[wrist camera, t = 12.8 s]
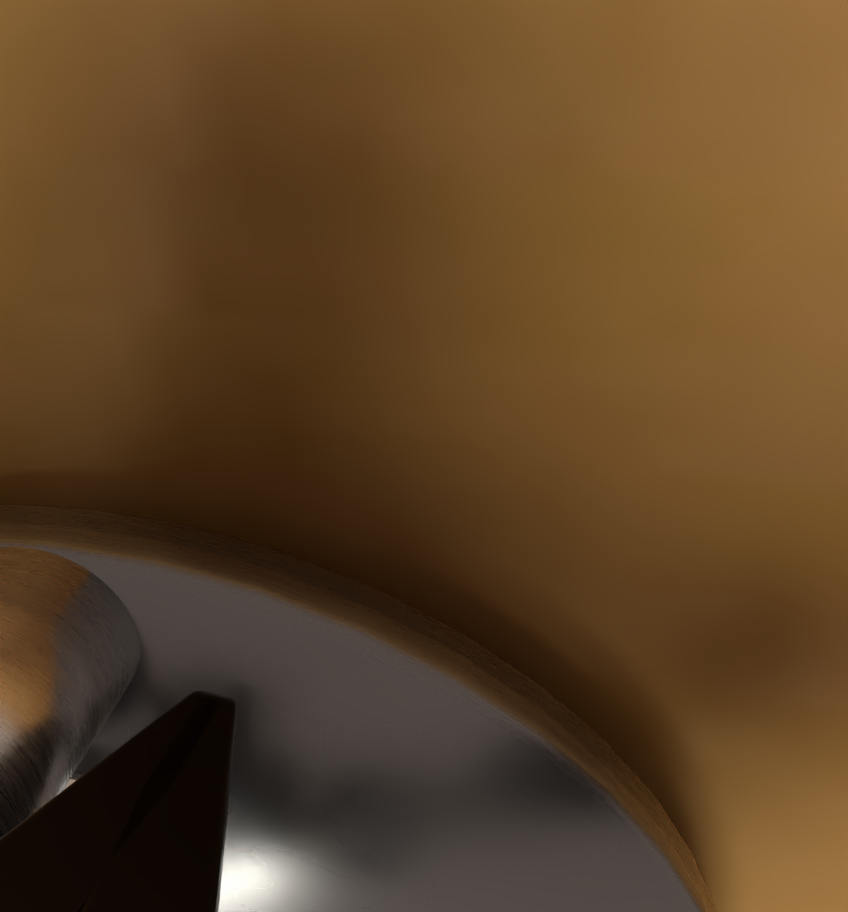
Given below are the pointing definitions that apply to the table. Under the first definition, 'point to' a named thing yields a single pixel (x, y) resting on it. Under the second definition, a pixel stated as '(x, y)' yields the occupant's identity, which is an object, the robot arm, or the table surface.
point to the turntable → (319, 728)
